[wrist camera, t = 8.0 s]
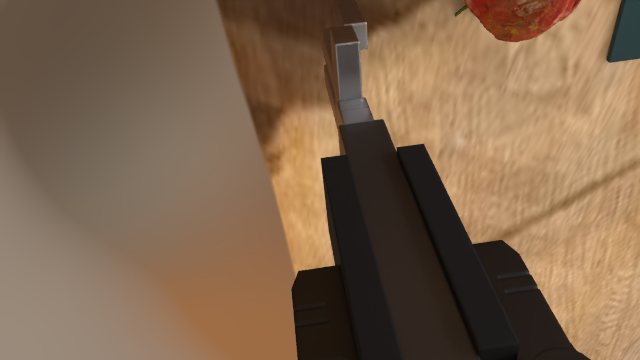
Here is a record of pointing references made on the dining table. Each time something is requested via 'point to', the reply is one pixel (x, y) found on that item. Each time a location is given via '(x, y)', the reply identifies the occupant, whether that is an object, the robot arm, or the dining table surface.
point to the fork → (390, 205)
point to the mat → (626, 33)
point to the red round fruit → (519, 16)
